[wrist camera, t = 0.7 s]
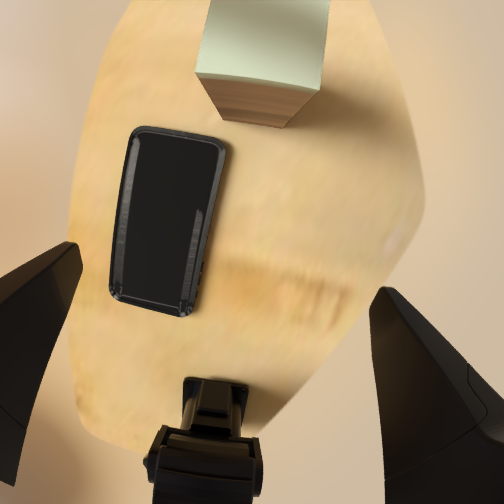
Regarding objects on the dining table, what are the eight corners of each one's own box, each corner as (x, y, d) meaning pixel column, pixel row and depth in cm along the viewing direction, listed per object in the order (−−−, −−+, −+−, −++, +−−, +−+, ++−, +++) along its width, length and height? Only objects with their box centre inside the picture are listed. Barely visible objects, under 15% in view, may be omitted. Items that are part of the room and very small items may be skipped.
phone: (108, 298, 25) (132, 123, 21) (112, 293, 26) (137, 125, 22) (192, 320, 26) (230, 140, 22) (194, 314, 27) (230, 142, 23)
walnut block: (281, 128, 22) (319, 89, 10) (223, 120, 22) (194, 72, 10) (289, 75, 21) (330, -5, 9) (232, 66, 21) (216, -22, 8)
